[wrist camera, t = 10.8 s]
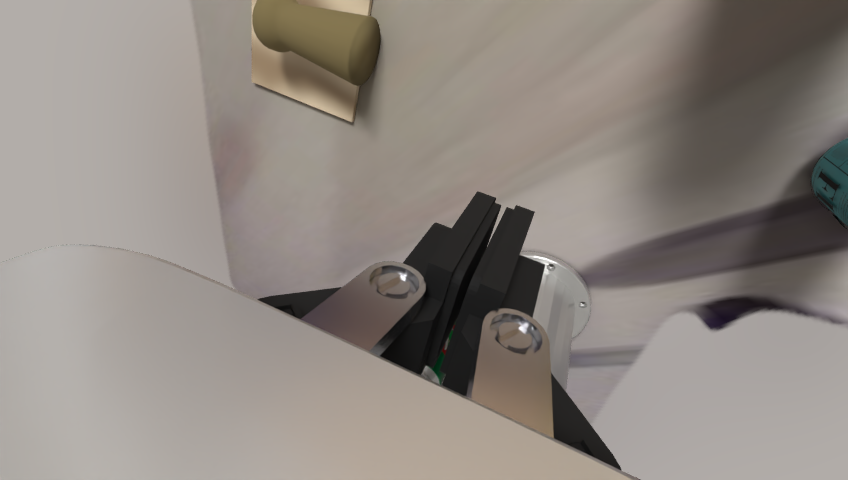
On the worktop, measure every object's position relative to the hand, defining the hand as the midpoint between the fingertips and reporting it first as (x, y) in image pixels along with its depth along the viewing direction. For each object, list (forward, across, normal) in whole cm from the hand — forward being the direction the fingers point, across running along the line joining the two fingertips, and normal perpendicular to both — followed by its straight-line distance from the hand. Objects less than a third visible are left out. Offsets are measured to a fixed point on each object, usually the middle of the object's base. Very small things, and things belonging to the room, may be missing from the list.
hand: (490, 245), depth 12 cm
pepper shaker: (+26, +18, +2) cm, 32 cm away
